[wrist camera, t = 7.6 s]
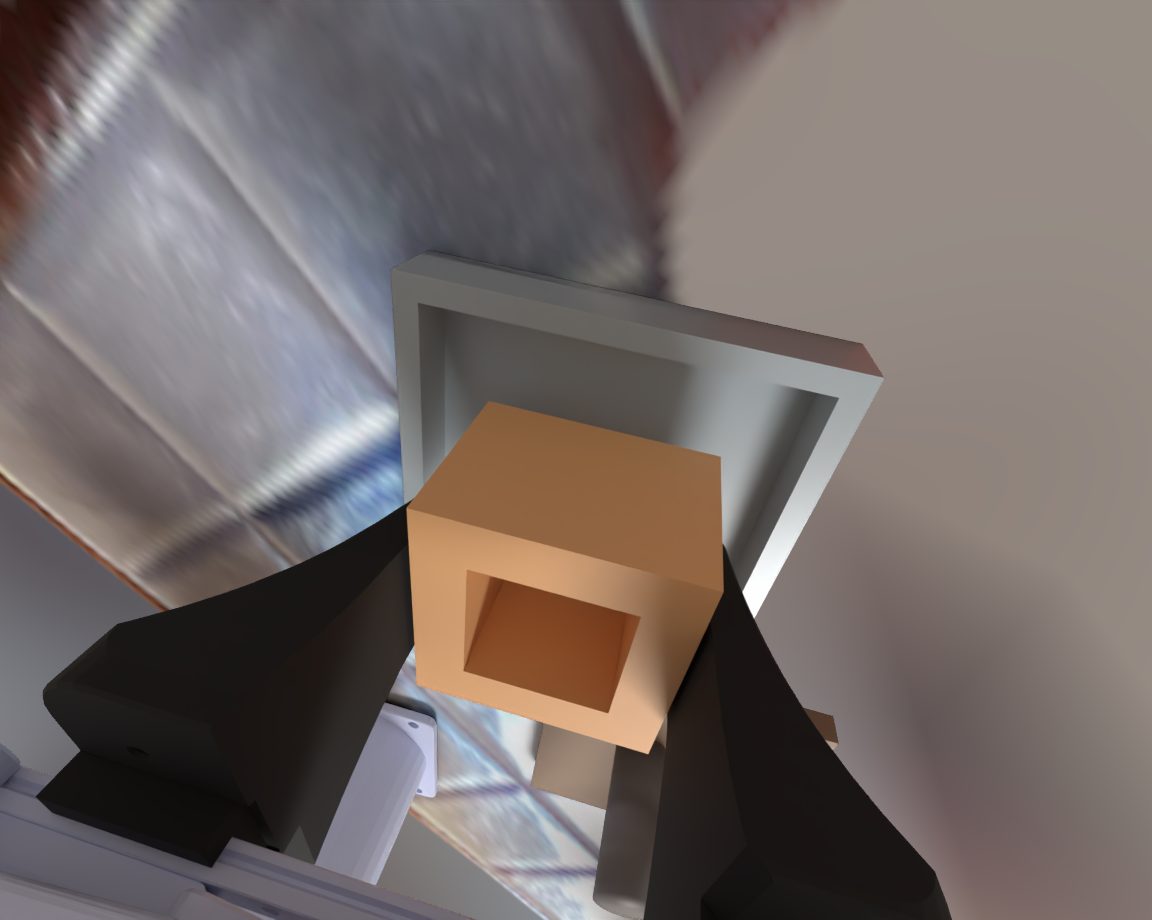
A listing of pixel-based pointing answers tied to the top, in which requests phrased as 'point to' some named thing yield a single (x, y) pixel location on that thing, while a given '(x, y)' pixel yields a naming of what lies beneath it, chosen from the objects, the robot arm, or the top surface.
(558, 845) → the top surface
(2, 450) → the top surface
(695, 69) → the top surface
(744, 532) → the tray
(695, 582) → the collar
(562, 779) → the board
